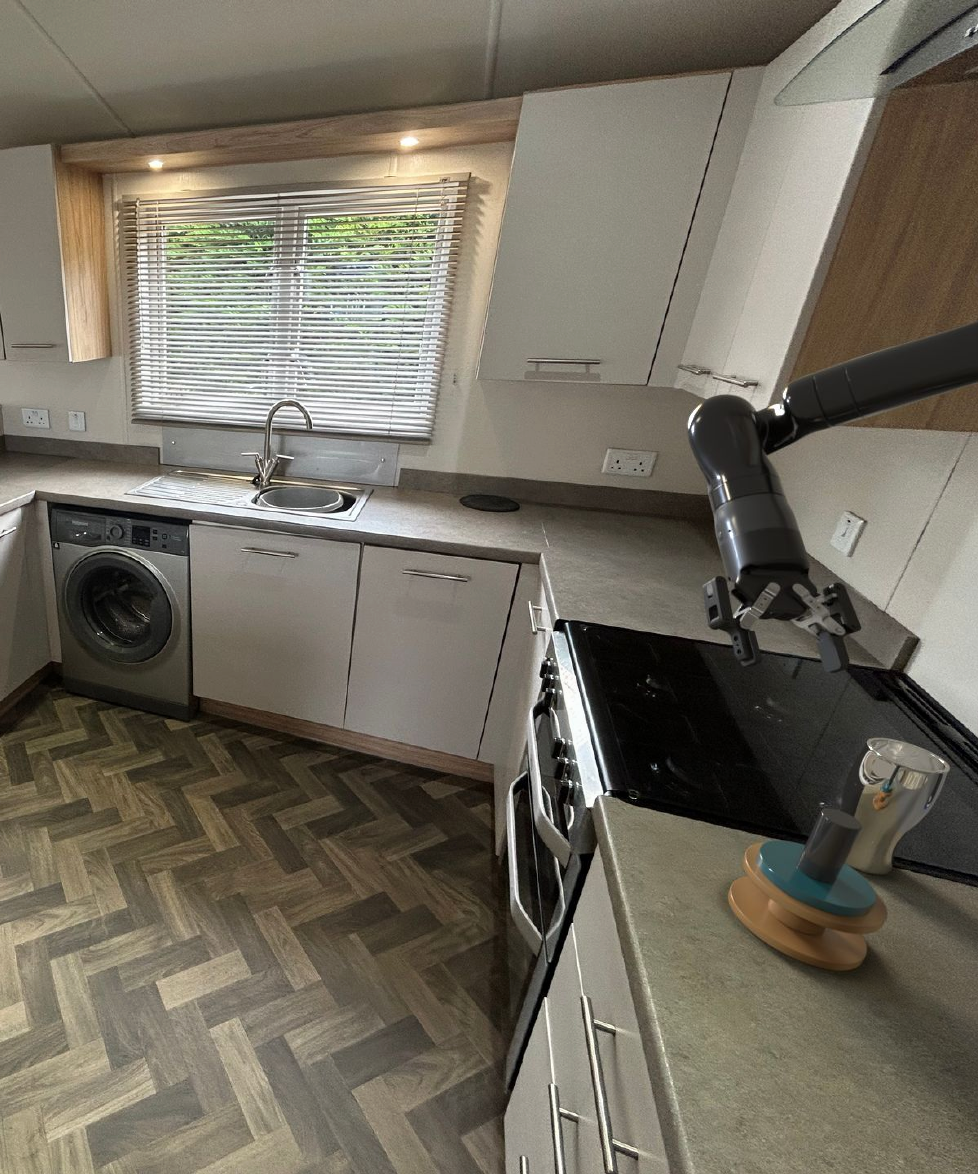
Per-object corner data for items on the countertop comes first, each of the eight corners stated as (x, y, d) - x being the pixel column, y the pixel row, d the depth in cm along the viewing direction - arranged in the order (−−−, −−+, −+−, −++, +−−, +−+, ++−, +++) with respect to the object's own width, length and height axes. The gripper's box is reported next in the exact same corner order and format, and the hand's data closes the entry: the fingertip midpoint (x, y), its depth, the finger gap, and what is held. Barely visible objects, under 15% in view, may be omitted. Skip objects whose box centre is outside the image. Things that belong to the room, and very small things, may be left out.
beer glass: (809, 827, 81) (855, 729, 76) (883, 848, 78) (937, 748, 73) (825, 862, 76) (876, 760, 70) (905, 887, 72) (965, 781, 67)
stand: (809, 888, 72) (829, 848, 70) (894, 978, 62) (921, 933, 60) (705, 877, 74) (721, 837, 71) (772, 962, 63) (793, 919, 61)
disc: (825, 853, 69) (854, 793, 66) (898, 922, 61) (935, 857, 58) (736, 844, 70) (761, 784, 67) (795, 911, 62) (827, 846, 59)
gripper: (715, 522, 74) (748, 653, 67) (850, 527, 72) (897, 663, 66) (676, 551, 81) (703, 672, 74) (798, 557, 79) (837, 682, 73)
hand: (794, 667), depth 70 cm, fingers open, 8 cm apart
